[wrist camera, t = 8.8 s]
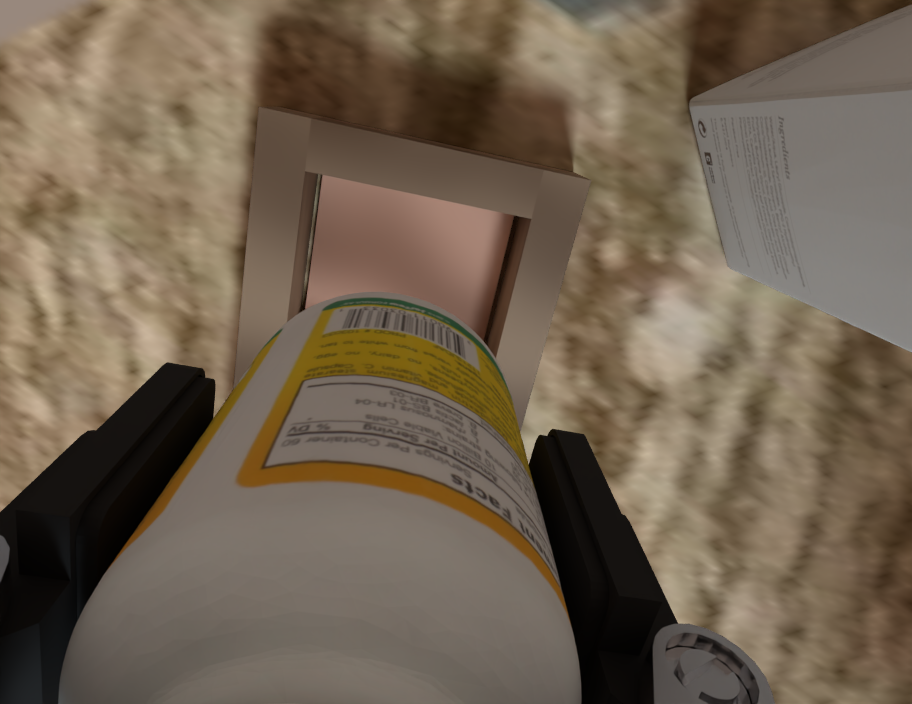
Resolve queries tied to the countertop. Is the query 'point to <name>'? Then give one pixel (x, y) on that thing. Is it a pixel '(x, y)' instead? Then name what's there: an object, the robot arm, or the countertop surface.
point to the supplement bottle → (341, 536)
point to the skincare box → (821, 174)
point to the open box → (405, 233)
